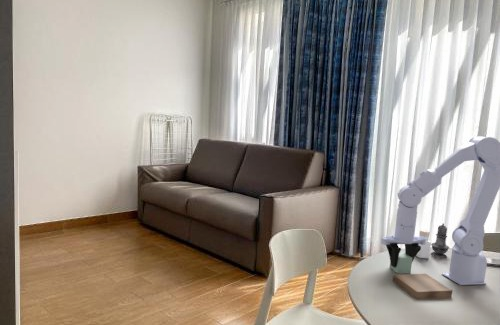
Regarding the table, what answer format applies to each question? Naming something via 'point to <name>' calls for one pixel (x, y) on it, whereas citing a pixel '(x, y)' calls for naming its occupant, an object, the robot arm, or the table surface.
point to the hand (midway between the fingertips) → (400, 266)
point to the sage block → (403, 264)
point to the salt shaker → (440, 243)
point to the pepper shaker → (424, 248)
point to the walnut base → (422, 286)
